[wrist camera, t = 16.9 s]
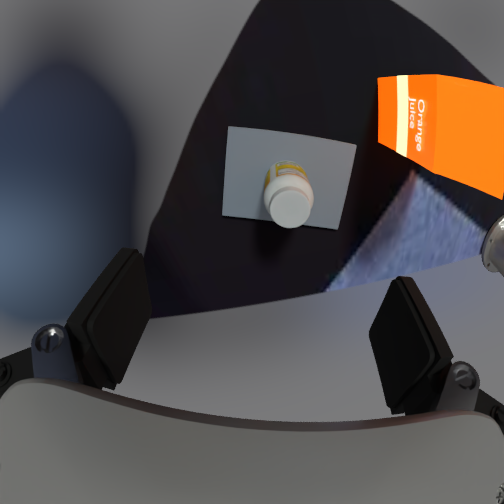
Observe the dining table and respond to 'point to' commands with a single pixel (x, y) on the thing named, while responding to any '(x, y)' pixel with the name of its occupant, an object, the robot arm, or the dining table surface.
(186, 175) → the dining table surface
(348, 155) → the felt mat
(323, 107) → the dining table surface
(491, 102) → the orange juice
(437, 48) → the dining table surface
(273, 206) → the supplement bottle
